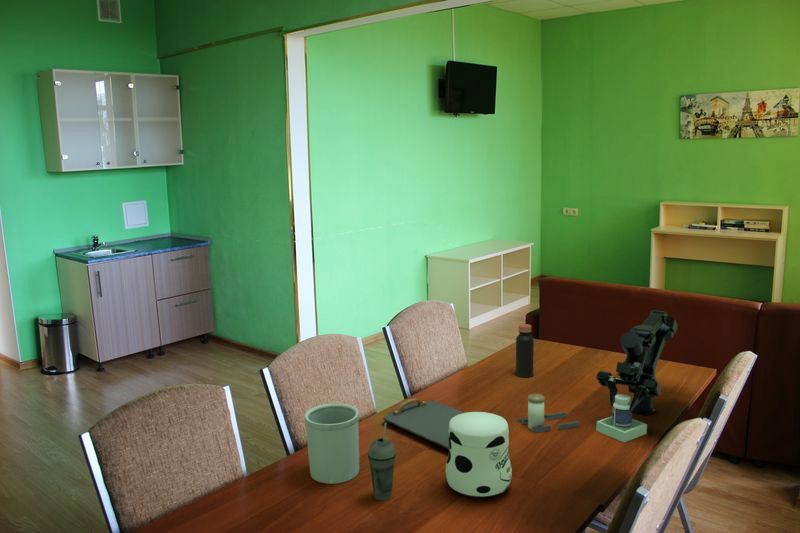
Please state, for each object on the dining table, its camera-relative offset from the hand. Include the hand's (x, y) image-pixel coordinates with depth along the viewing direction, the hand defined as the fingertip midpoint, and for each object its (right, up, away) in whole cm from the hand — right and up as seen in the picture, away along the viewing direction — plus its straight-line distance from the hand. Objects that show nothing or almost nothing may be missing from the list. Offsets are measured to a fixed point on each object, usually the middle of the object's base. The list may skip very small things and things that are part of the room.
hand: (620, 407), depth 209 cm
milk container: (-47, -15, -29) cm, 58 cm away
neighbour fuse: (-25, -8, +8) cm, 27 cm away
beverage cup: (-72, -16, -33) cm, 81 cm away
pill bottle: (+1, -7, +2) cm, 7 cm away
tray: (+1, -8, +2) cm, 9 cm away
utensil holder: (-86, -14, -19) cm, 90 cm away
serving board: (-55, -9, +8) cm, 56 cm away
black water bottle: (-19, +1, +57) cm, 60 cm away
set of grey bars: (-20, -7, +10) cm, 24 cm away
